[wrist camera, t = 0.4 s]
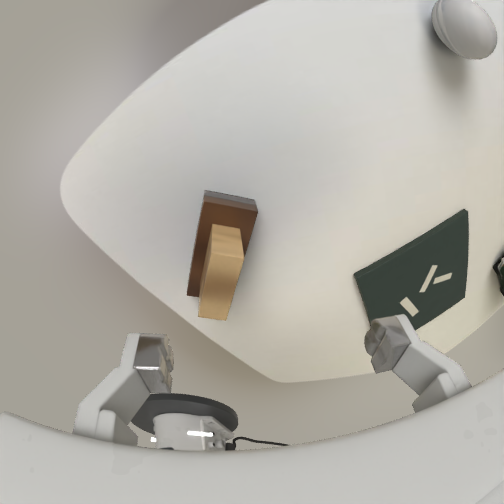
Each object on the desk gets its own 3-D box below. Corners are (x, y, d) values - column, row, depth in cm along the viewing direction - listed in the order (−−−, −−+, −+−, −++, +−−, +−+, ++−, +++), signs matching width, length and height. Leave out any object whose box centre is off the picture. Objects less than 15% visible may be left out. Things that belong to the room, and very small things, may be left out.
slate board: (462, 294, 41) (465, 297, 40) (377, 346, 44) (379, 351, 44) (464, 208, 31) (468, 211, 30) (353, 273, 34) (356, 278, 33)
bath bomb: (469, 35, 17) (514, 37, 10) (451, 70, 20) (499, 77, 14) (430, -11, 14) (475, -20, 7) (408, 22, 18) (457, 14, 11)
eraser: (230, 285, 33) (234, 336, 26) (188, 278, 32) (183, 329, 25) (254, 199, 28) (266, 238, 21) (205, 189, 26) (200, 226, 20)
